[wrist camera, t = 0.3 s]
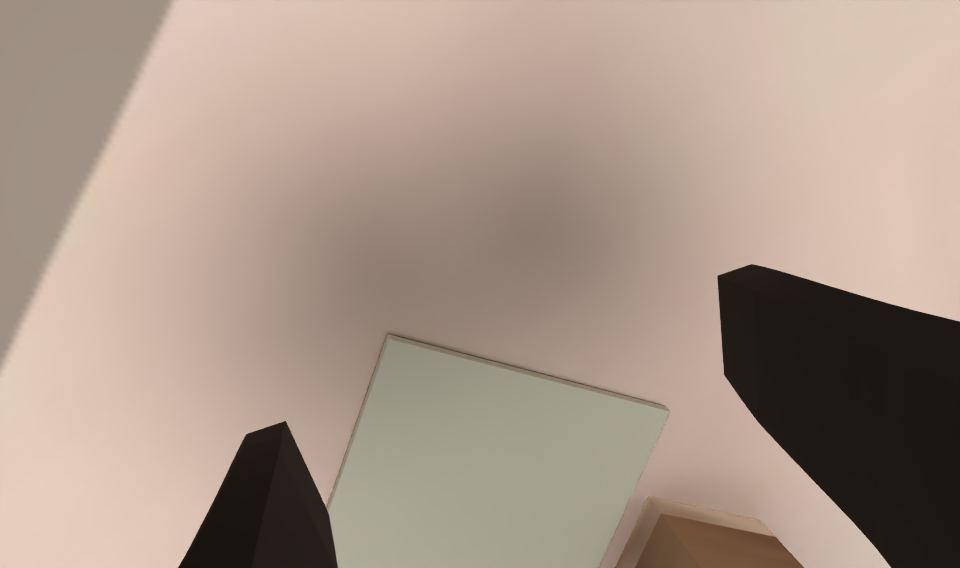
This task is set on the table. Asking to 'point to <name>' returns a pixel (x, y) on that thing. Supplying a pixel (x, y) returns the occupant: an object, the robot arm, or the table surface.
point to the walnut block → (700, 540)
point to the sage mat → (485, 465)
